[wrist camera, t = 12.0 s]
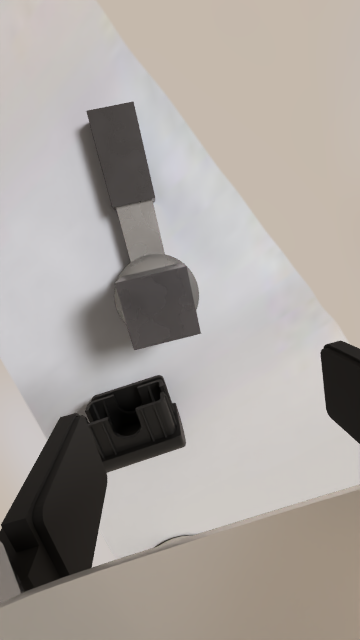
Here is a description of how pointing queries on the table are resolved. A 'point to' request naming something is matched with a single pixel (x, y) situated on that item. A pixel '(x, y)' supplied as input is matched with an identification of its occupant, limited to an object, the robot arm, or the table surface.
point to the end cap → (134, 423)
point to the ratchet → (131, 190)
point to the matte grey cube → (158, 305)
